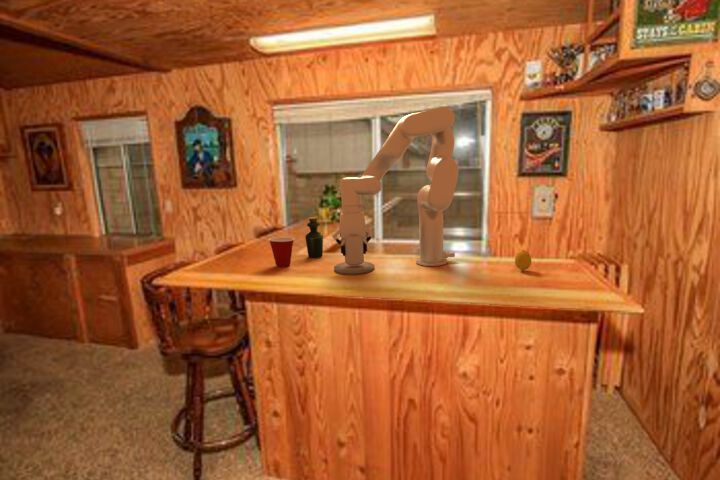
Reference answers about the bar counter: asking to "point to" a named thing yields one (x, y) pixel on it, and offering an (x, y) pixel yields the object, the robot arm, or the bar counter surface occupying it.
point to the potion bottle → (314, 239)
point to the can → (354, 250)
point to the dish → (354, 268)
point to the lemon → (523, 260)
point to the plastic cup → (282, 250)
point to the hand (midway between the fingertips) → (354, 253)
